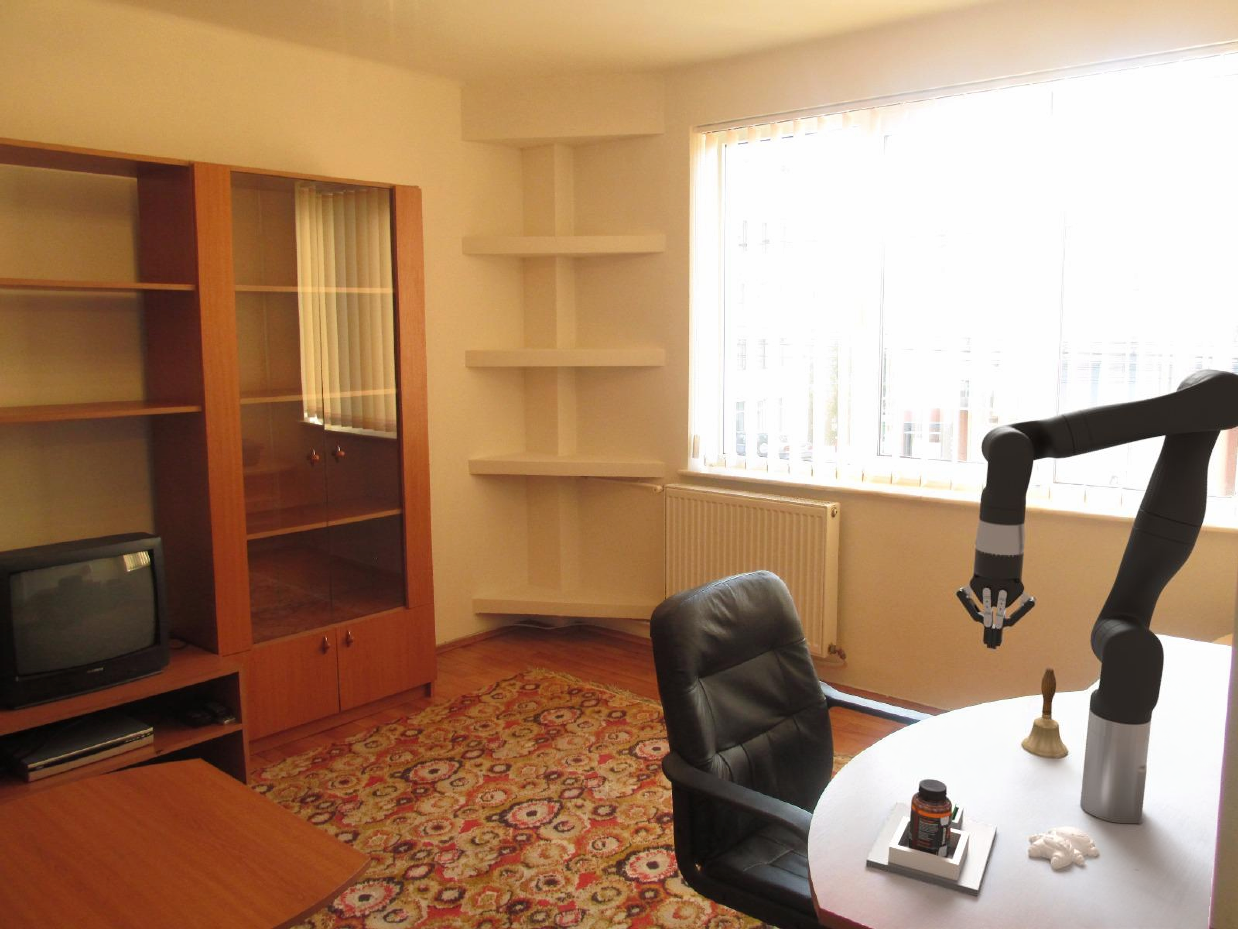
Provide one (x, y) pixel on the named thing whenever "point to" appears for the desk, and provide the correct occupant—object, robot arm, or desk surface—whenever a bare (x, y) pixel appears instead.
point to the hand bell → (1046, 725)
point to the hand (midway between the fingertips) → (991, 647)
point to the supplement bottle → (930, 819)
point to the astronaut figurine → (1063, 846)
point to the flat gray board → (953, 872)
